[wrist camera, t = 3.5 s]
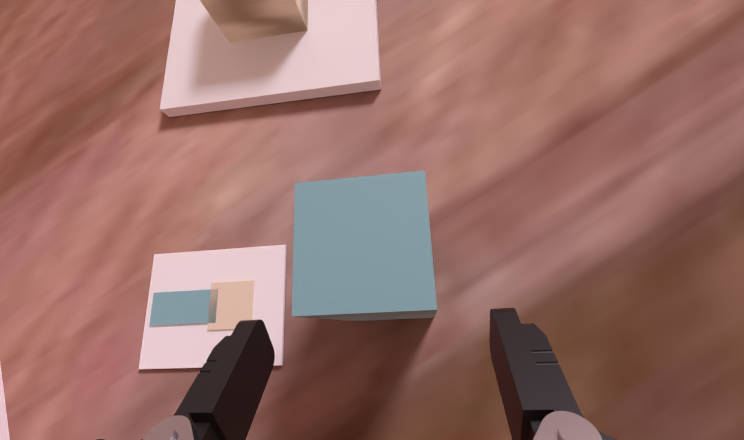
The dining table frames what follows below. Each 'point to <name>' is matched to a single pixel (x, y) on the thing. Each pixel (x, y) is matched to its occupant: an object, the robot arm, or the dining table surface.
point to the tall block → (363, 249)
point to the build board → (270, 59)
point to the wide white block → (3, 413)
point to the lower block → (257, 17)
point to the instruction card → (211, 302)
